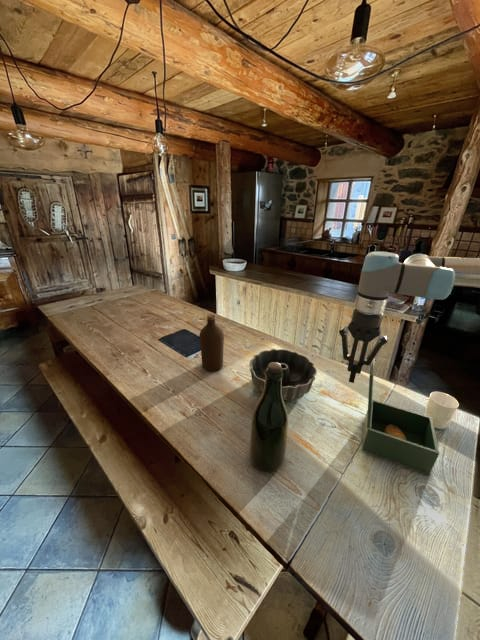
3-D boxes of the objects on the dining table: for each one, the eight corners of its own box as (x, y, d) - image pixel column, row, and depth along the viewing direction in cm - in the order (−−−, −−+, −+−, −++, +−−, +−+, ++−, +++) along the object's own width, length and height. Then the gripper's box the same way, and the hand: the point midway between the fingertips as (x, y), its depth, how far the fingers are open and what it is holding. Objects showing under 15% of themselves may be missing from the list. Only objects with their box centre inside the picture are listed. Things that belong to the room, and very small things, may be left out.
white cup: (426, 428, 90) (435, 405, 86) (417, 411, 97) (426, 389, 93) (452, 432, 88) (463, 410, 84) (442, 415, 95) (452, 393, 91)
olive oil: (209, 375, 114) (207, 323, 103) (196, 364, 122) (193, 314, 111) (229, 366, 120) (228, 316, 110) (215, 356, 128) (214, 308, 117)
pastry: (380, 425, 90) (383, 417, 88) (402, 431, 88) (406, 423, 86) (383, 448, 82) (386, 439, 80) (408, 455, 80) (412, 446, 78)
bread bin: (423, 437, 87) (432, 417, 83) (428, 475, 75) (439, 453, 71) (365, 418, 94) (370, 398, 90) (361, 450, 82) (368, 429, 78)
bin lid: (375, 349, 83) (372, 349, 83) (372, 375, 71) (369, 374, 71) (372, 398, 90) (369, 397, 90) (369, 428, 78) (366, 427, 78)
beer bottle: (260, 436, 86) (266, 349, 72) (290, 452, 81) (303, 361, 67) (242, 461, 78) (245, 368, 64) (274, 480, 73) (285, 384, 59)
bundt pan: (283, 360, 125) (285, 342, 121) (327, 392, 105) (331, 372, 101) (236, 379, 112) (236, 359, 108) (276, 419, 92) (278, 397, 88)
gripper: (341, 310, 72) (327, 380, 82) (395, 320, 67) (374, 393, 77) (345, 301, 78) (332, 367, 88) (395, 310, 73) (375, 379, 83)
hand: (351, 379), depth 82 cm, fingers closed
